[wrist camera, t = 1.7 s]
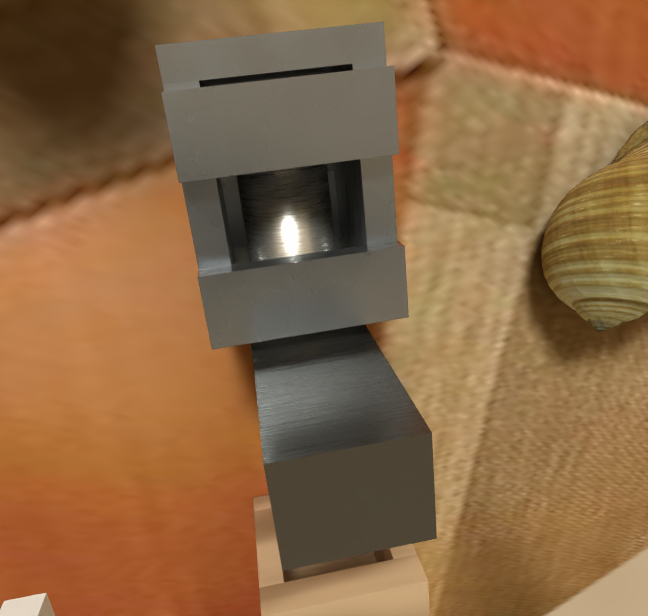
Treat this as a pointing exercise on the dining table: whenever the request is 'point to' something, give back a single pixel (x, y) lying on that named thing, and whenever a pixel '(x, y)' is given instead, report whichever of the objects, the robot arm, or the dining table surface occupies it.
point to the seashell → (603, 240)
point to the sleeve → (282, 153)
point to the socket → (338, 580)
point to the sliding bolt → (331, 405)
